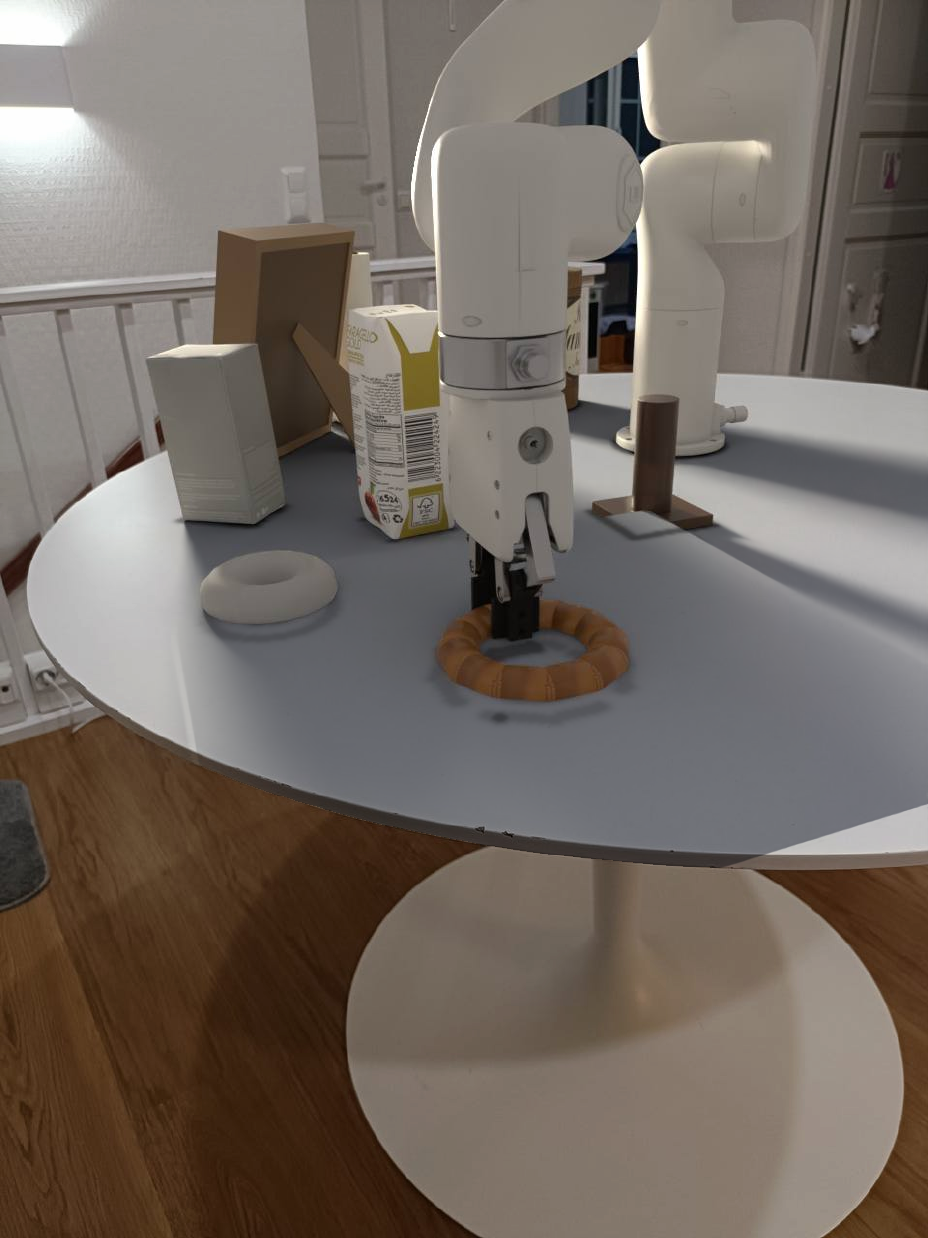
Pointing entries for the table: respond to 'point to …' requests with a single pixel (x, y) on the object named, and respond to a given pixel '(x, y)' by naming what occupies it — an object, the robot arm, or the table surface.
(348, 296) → the paper towel roll
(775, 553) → the table surface
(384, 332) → the juice carton
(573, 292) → the wooden container
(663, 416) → the post
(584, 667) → the ring
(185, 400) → the cosmetic box
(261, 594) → the donut
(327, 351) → the photo frame
